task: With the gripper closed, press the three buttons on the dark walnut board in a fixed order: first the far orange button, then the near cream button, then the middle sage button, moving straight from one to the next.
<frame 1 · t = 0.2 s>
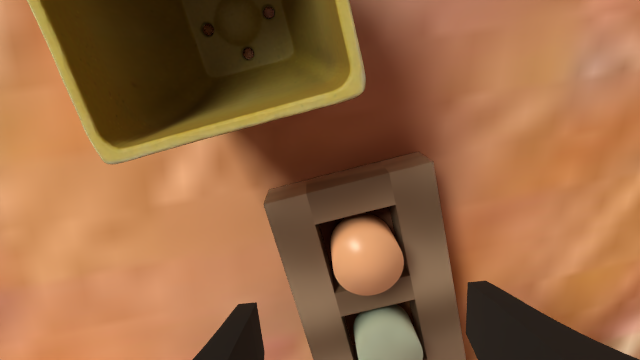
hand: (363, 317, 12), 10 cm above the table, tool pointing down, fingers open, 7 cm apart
sage button: (386, 341, 21), point 3 cm above the table, slide at 0.0 cm
orange button: (364, 252, 19), point 3 cm above the table, slide at 0.0 cm
button board: (377, 311, 23), on the table
flower pot: (241, 25, 18), on the table
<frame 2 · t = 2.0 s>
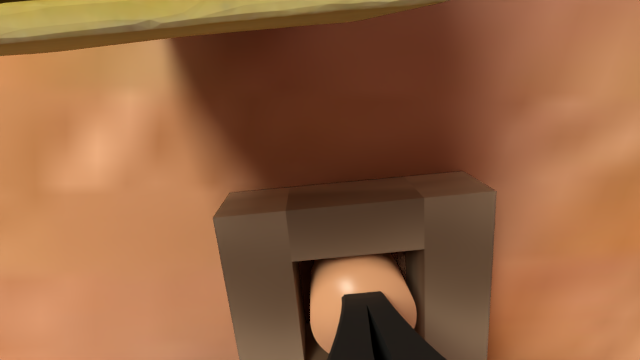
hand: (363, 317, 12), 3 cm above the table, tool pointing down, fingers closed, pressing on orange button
orange button: (358, 297, 13), point 2 cm above the table, slide at 1.1 cm, touching gripper
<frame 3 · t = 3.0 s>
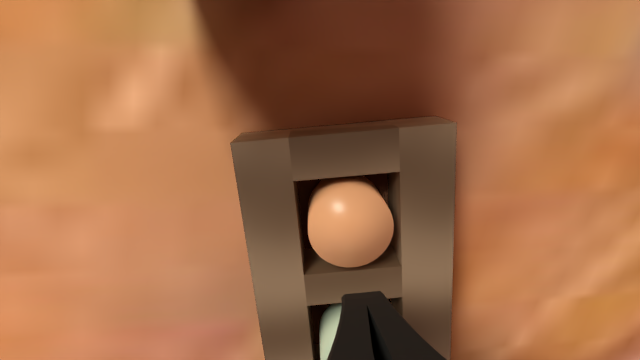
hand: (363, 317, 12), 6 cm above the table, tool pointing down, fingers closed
sage button: (358, 344, 16), point 3 cm above the table, slide at 0.0 cm
orange button: (347, 217, 16), point 2 cm above the table, slide at 1.1 cm
button board: (351, 307, 19), on the table
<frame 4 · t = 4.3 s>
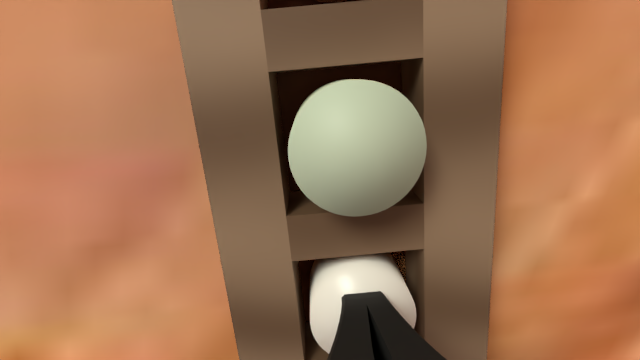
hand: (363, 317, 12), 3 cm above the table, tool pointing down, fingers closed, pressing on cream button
sage button: (351, 143, 10), point 3 cm above the table, slide at 0.0 cm
cream button: (358, 297, 13), point 2 cm above the table, slide at 1.1 cm, touching gripper
button board: (342, 129, 13), on the table
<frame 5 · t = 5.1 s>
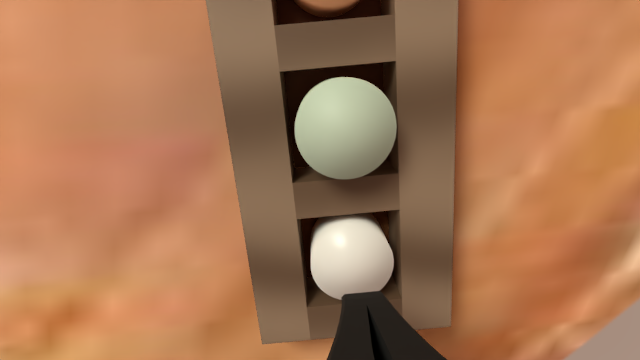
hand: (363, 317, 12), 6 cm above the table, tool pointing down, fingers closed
sage button: (342, 125, 14), point 3 cm above the table, slide at 0.0 cm
cream button: (349, 251, 16), point 2 cm above the table, slide at 1.1 cm
button board: (337, 117, 16), on the table
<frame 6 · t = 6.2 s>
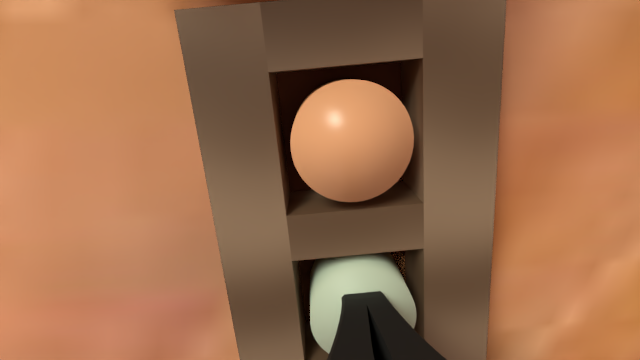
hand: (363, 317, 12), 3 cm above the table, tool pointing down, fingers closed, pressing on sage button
sage button: (358, 297, 13), point 2 cm above the table, slide at 1.1 cm, touching gripper
orange button: (347, 136, 11), point 2 cm above the table, slide at 1.1 cm
button board: (352, 272, 15), on the table
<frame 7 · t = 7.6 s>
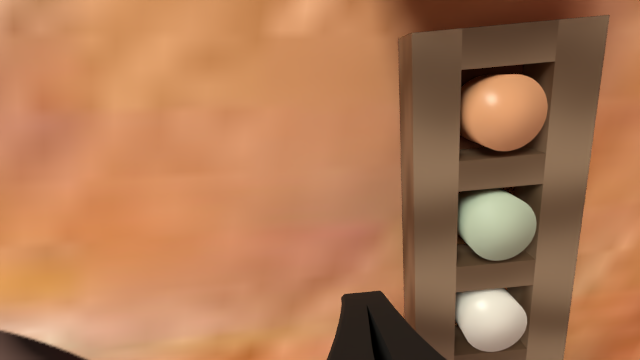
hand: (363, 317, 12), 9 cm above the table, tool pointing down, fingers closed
sage button: (490, 220, 19), point 2 cm above the table, slide at 1.1 cm
cream button: (485, 311, 21), point 2 cm above the table, slide at 1.1 cm
orange button: (496, 111, 18), point 2 cm above the table, slide at 1.1 cm
button board: (476, 209, 21), on the table
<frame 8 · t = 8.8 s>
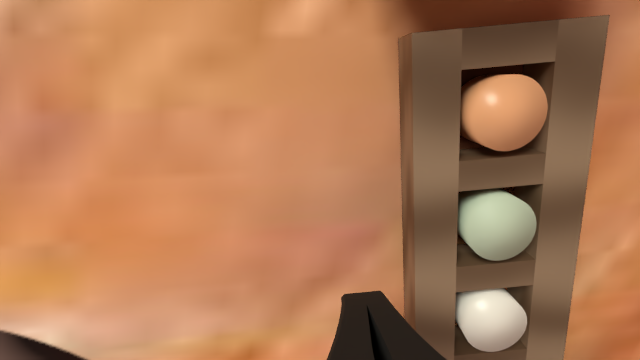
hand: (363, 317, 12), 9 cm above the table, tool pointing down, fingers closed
sage button: (490, 220, 19), point 2 cm above the table, slide at 1.1 cm
cream button: (485, 311, 21), point 2 cm above the table, slide at 1.1 cm
orange button: (496, 111, 18), point 2 cm above the table, slide at 1.1 cm
button board: (476, 209, 21), on the table
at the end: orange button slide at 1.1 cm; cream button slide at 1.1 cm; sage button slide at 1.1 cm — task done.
